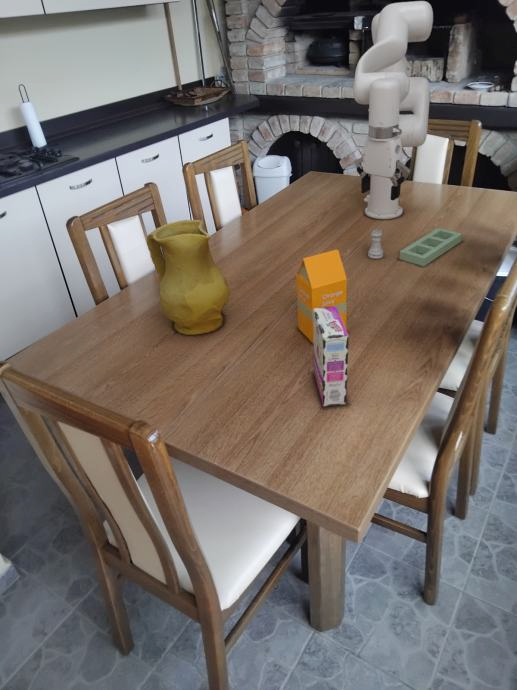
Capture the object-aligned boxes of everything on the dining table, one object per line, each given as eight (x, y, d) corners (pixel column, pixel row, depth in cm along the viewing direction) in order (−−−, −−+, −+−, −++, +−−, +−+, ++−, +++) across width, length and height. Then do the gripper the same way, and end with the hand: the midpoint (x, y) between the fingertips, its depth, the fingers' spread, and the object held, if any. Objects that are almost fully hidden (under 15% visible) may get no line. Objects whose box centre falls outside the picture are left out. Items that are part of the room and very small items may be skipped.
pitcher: (178, 348, 126) (160, 246, 113) (154, 317, 141) (136, 224, 128) (244, 327, 132) (234, 229, 119) (214, 300, 147) (203, 209, 134)
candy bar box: (348, 405, 106) (349, 335, 97) (323, 407, 106) (322, 338, 96) (336, 370, 115) (337, 304, 106) (313, 373, 115) (311, 307, 106)
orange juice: (298, 328, 130) (294, 252, 119) (330, 318, 132) (329, 242, 121) (313, 344, 124) (311, 265, 113) (346, 333, 126) (348, 255, 115)
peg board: (399, 259, 156) (399, 251, 155) (437, 235, 167) (438, 227, 166) (423, 266, 151) (424, 258, 150) (461, 241, 162) (462, 233, 161)
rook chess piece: (383, 259, 156) (384, 233, 152) (367, 259, 157) (368, 233, 153) (383, 253, 160) (385, 227, 155) (368, 252, 161) (369, 227, 156)
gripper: (420, 132, 137) (414, 197, 147) (364, 123, 147) (362, 185, 157) (403, 139, 133) (398, 206, 143) (347, 130, 143) (346, 193, 153)
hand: (379, 195), depth 150 cm, fingers open, 9 cm apart
